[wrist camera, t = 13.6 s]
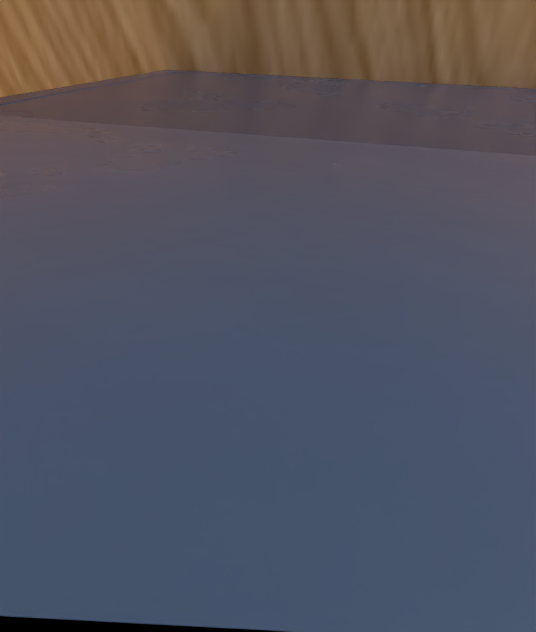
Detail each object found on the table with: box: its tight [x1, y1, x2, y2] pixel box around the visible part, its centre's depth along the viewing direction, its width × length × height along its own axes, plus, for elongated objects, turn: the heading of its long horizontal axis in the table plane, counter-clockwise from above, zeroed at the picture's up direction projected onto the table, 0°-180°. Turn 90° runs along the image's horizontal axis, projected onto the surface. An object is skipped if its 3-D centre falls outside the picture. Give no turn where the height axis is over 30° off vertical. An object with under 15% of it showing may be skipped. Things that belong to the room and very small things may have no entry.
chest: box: [0, 70, 536, 156], centre depth 14 cm, size 12×16×13 cm
